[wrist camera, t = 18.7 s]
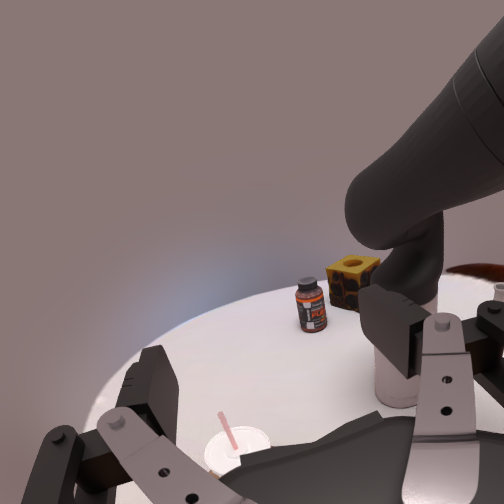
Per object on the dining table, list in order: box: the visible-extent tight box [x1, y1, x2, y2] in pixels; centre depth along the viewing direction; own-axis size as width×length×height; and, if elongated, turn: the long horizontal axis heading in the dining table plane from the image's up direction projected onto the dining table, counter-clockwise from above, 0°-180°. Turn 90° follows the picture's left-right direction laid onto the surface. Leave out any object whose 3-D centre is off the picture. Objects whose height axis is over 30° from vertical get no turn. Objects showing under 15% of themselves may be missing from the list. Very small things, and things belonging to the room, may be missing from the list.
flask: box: [493, 282, 504, 302], centre depth 43 cm, size 7×7×10 cm
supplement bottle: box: [295, 277, 327, 332], centre depth 66 cm, size 6×6×11 cm
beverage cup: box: [204, 412, 271, 477], centre depth 24 cm, size 6×6×14 cm
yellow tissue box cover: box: [326, 255, 380, 313], centre depth 72 cm, size 10×10×10 cm
